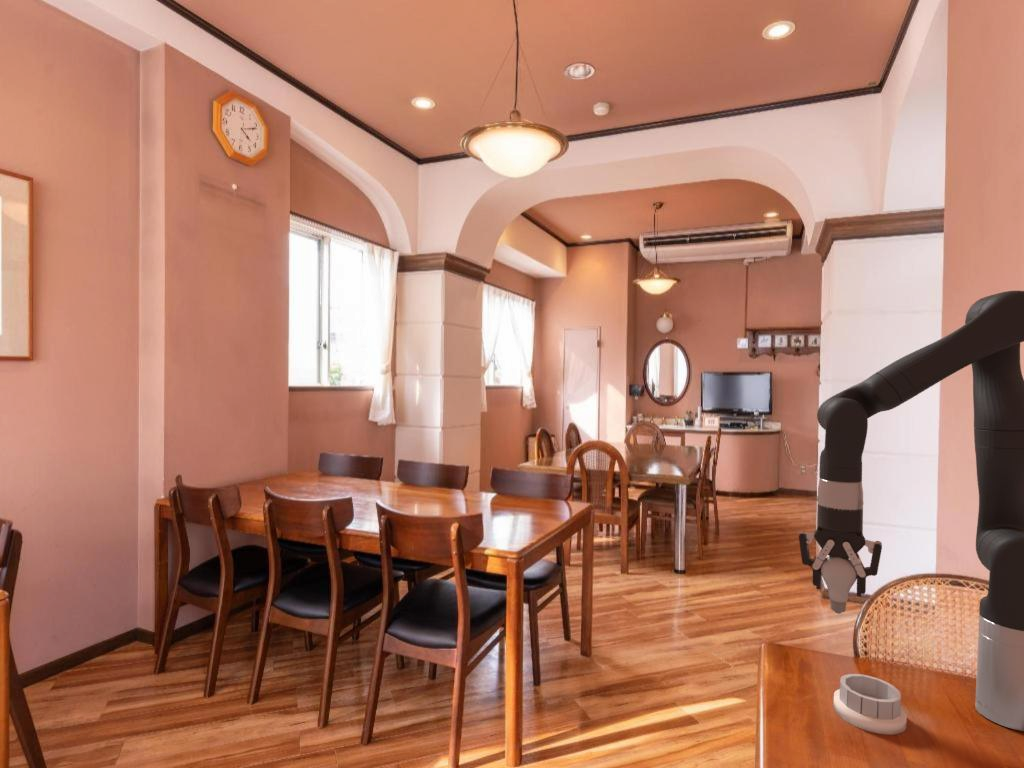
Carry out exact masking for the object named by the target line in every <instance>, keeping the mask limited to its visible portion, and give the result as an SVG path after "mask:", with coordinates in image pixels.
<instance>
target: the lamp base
mask: <svg viewBox="0 0 1024 768" xmlns="http://www.w3.org/2000/svg"><path fill="white" fill-rule="evenodd" d="M832 706H833V710H834V711H835V713H836V714H837V715H838V717H839V718H841V719H842V720H844V721H845V722H846V723H848V724H850V725H851V726H853V727H857V728H858V729H861V730H863V731H868V732H871V733H874V734H878V735H891V736H892V735H898V734H902V733H903V732H904V731H905V730H906V729H907V719H908V717H907V716H908V715H907V710H906V709H905V708H904V707H903V706H902V693H901V691H900V690H899V689H897V688H896V687H895V686H894V685H893V684H892V683H889V682H887V681H885V680H883V679H881V678H879V677H875V676H870V675H867V674H862V673H848V674H845V675H842V676H840V681H839V688H837V689H836V690H835V691H834V693H833V705H832Z"/></svg>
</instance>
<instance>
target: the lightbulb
mask: <svg viewBox="0 0 1024 768" xmlns="http://www.w3.org/2000/svg"><path fill="white" fill-rule="evenodd" d="M857 574H858V573H857V571H856V569H855V567H854V566H853V564H852V562H851V560H850V558H849V559H843V558H840V557H829V556H827V557H826V558H825V560H824V561H823V563H822V564H821V575H822V579H823V582H824V583H825V584H826V587H827V591H828V597H829V598H828V599H829V603H830V609H831V611H833V612H834V613H836V614H842V613H845V612H846V609H847V602H848V599H849V594H850V593H849V592H850V591H851V589H852V587H853V586H854V584H855V583H856V582H857Z"/></svg>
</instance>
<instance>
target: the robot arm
mask: <svg viewBox="0 0 1024 768" xmlns="http://www.w3.org/2000/svg"><path fill="white" fill-rule="evenodd" d="M964 320H965V321H964V325H962V326H961V327H960V328H957V329H956V330H954V331H953V332H951V333H950V334H948V335H945V336H944V337H942V338H940V339H939V340H935V341H934V342H931V343H930V344H927V345H926V346H923V347H921V348H919V349H917V350H915V351H913V352H911V353H909V354H906V355H904V356H903V357H900V358H899V359H897V360H895V361H893V362H892V363H890V364H888V365H887V366H885V367H883V368H881V369H880V370H878V371H876V372H875V373H873V374H872V375H871V376H869V377H867V378H866V379H865V380H863V381H861V382H859V383H857V384H854V385H852V386H849V388H846V389H844V390H842V391H840V392H837V393H836V394H834V395H833V396H831V397H829V398H827V399H825V401H824V402H822V403H821V404H820V406H819V407H818V409H817V411H816V412H817V413H816V418H817V422H818V424H819V426H820V427H822V429H823V430H824V431H825V434H824V436H825V437H824V448H823V449H822V450H821V452H820V456H819V469H818V470H819V471H818V472H819V479H818V486H817V495H816V501H817V510H816V511H817V512H816V513H817V515H816V516H817V517H816V519H817V521H816V523H817V524H816V530H814V532H806V531H805V530H802V531H800V532H799V534H798V541H799V549H800V557H801V562H802V564H803V565H805V566H809V567H811V569H812V585H813V586H815V588H816V590H820V591H821V590H822V583H823V582H822V579H823V577H822V575H821V564H822V563H823V561H824V560H825V558H827V557H840V558H843V559H850V560H851V562H852V564H853V566H854V567H855V569H856V571H857V579H856V597H860V598H861V597H862V595H865V593H866V590H867V589H866V586H867V584H866V583H867V580H866V579H867V578H868V577H870V576H873V577H874V576H877V574H878V571H879V566H880V561H881V560H880V559H881V555H882V549H883V543H882V542H881V541H879V540H876V541H874V540H870V539H869V540H868V539H866V538H865V536H864V532H863V531H864V530H863V529H864V527H863V526H864V525H863V523H864V519H863V518H864V514H863V513H864V490H863V460H862V459H863V453H864V450H865V445H866V438H867V435H868V426H869V423H868V421H869V420H868V419H869V418H871V417H873V416H875V415H877V414H878V413H882V412H886V411H891V410H893V409H895V408H897V407H899V406H901V405H902V404H904V403H906V402H908V401H910V400H912V399H913V398H914V397H916V396H918V395H920V394H921V393H923V392H925V391H926V390H928V389H929V388H931V387H933V386H935V385H936V384H938V383H940V382H941V381H943V380H944V379H947V378H948V377H950V376H951V375H953V374H955V373H957V372H958V371H961V370H963V369H964V368H966V367H968V366H970V365H971V370H972V401H973V437H974V452H975V465H976V478H977V479H976V481H977V489H978V490H977V491H978V512H977V513H978V516H977V523H976V535H975V551H976V555H977V558H978V559H979V561H980V563H981V564H982V565H983V566H984V568H985V569H986V570H988V571H989V577H988V578H989V579H988V589H987V590H988V591H987V595H986V596H983V597H981V599H980V600H979V606H978V607H979V608H978V610H979V613H978V614H979V615H978V636H977V659H976V660H977V662H976V680H975V681H976V683H975V684H976V685H975V686H976V687H975V703H974V704H975V707H974V708H975V710H976V711H977V712H978V713H979V714H980V715H982V717H984V718H985V719H988V720H989V721H991V722H993V723H995V724H997V725H1000V726H1002V727H1005V728H1009V729H1012V730H1016V731H1021V732H1024V377H1023V373H1022V372H1023V371H1022V367H1021V343H1022V342H1023V343H1024V290H1008V291H1003V292H999V293H998V292H997V293H995V294H991V295H988V296H985V297H982V298H980V299H977V300H976V301H975V302H974V303H973V304H971V306H970V307H969V309H968V310H967V313H966V315H965V319H964ZM813 540H815V541H816V542H817V544H818V545H819V546H820V548H821V549H820V551H819V552H818V554H817V556H816V558H815V559H814V558H812V557H811V554H810V546H809V545H810V544H811V543H812V541H813ZM864 547H867V551H868V552H869V553H870V554H872V555H871V559H870V565H869V566H867V567H865V566H864V564H863V562H862V559H861V557H860V555H859V552H860V551H861V550H862V549H863V548H864Z"/></svg>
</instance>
